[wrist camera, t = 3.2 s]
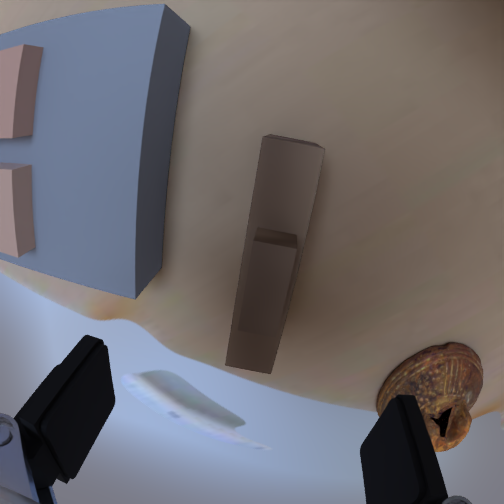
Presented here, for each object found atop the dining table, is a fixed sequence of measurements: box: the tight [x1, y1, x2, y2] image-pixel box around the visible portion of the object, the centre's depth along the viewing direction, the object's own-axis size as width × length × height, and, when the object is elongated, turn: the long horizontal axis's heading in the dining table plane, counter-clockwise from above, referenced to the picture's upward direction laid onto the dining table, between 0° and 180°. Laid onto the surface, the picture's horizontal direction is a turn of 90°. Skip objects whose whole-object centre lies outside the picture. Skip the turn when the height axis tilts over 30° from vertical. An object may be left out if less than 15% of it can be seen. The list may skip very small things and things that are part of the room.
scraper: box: [225, 134, 325, 374], centre depth 19 cm, size 3×14×8 cm, turn 170°
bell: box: [377, 343, 483, 452], centre depth 24 cm, size 12×12×7 cm
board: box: [0, 4, 190, 299], centre depth 19 cm, size 20×18×5 cm
